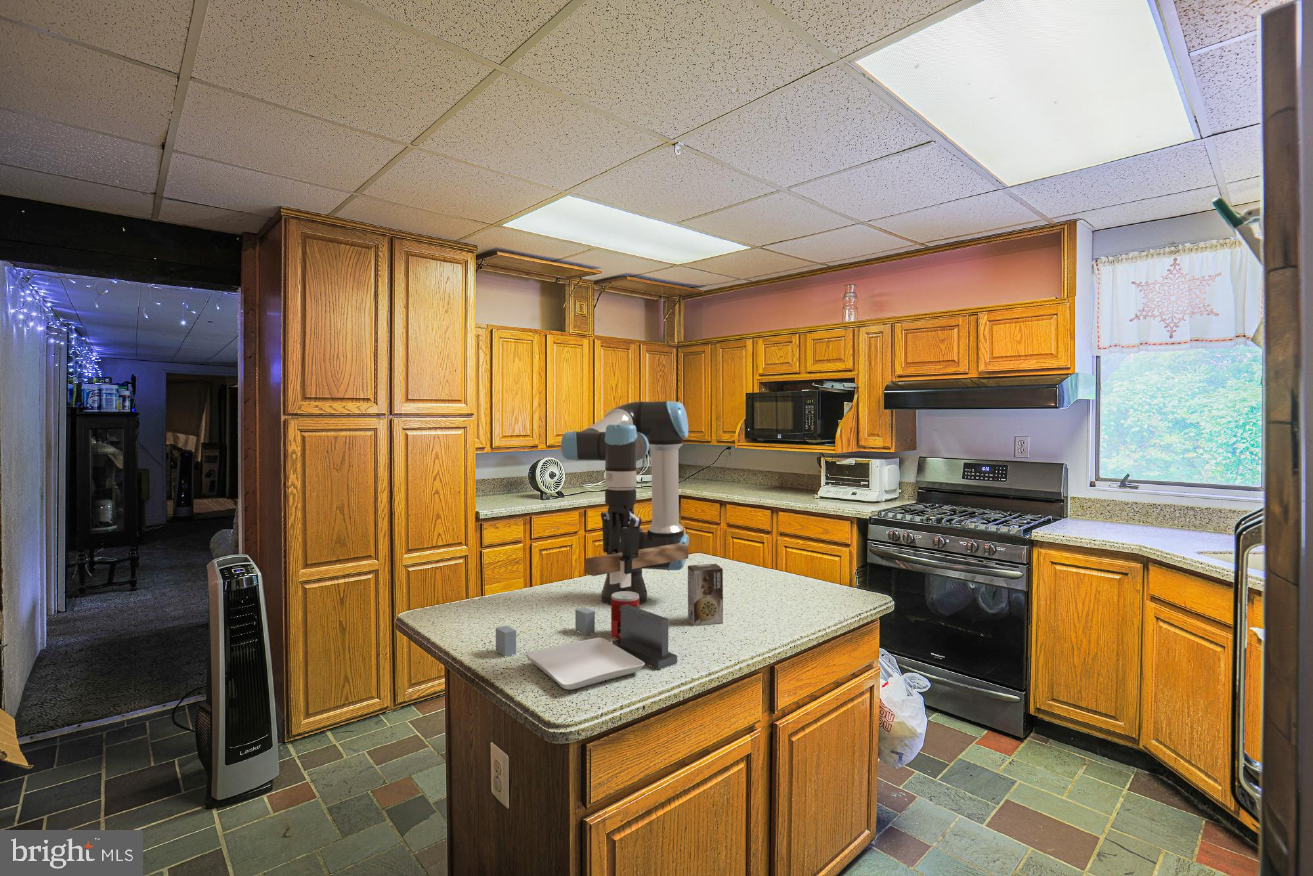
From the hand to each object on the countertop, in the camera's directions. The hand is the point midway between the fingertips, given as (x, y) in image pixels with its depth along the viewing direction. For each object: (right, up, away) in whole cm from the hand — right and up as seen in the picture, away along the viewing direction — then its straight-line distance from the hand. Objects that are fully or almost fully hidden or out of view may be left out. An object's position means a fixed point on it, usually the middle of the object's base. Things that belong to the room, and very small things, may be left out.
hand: (620, 584), depth 150 cm
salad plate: (-8, -19, -5) cm, 22 cm away
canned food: (0, -18, +19) cm, 27 cm away
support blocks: (-20, -18, +14) cm, 30 cm away
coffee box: (+23, -18, +31) cm, 43 cm away
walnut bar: (+5, +4, +4) cm, 7 cm away
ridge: (+6, -19, +4) cm, 20 cm away
